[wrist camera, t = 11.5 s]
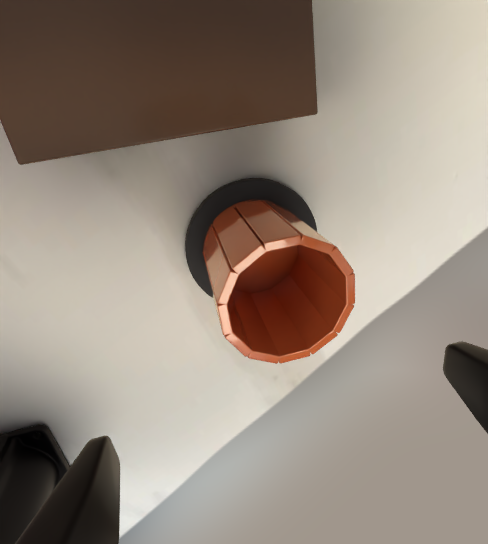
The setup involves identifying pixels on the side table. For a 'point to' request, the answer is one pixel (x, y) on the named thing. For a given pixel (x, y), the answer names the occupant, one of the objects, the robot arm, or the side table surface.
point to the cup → (275, 282)
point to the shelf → (148, 70)
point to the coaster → (227, 198)
